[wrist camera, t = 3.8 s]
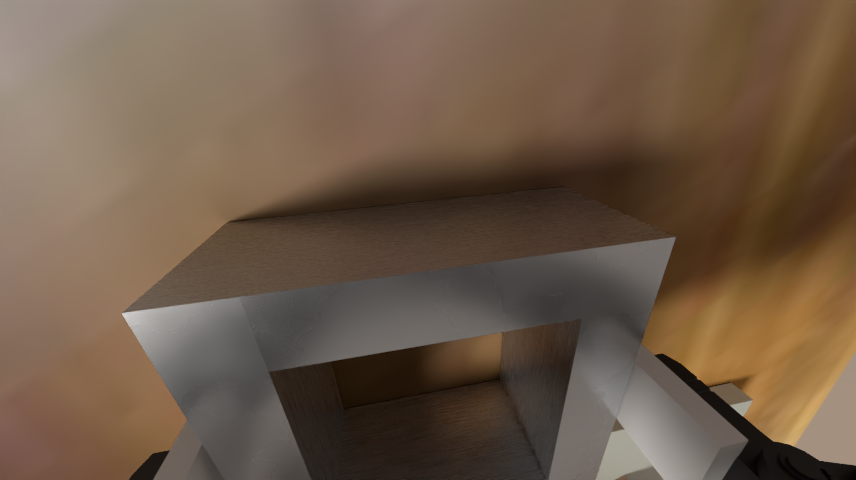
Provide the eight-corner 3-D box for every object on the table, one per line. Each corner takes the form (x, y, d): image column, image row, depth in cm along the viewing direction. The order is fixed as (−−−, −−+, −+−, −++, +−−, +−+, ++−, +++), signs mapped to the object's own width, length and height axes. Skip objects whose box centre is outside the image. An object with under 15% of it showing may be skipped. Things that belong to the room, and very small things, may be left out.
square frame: (226, 222, 10) (121, 313, 5) (564, 186, 11) (676, 236, 7) (308, 444, 14) (284, 578, 10) (533, 399, 16) (589, 499, 12)
